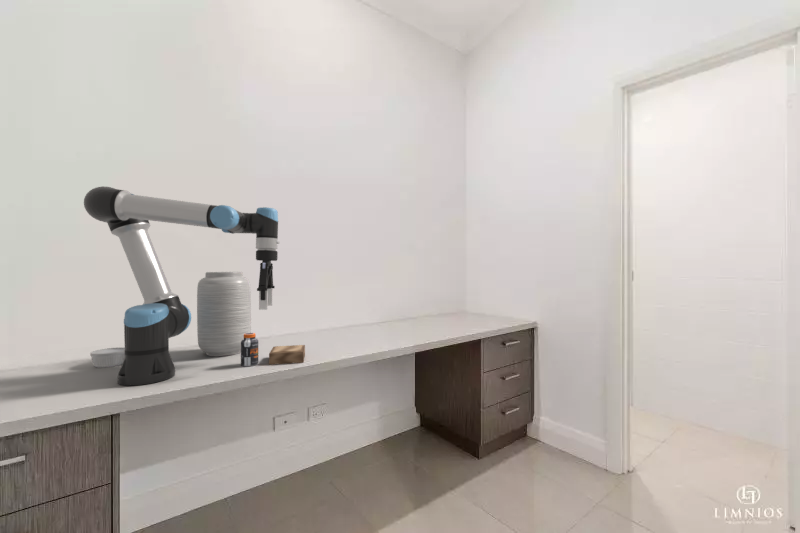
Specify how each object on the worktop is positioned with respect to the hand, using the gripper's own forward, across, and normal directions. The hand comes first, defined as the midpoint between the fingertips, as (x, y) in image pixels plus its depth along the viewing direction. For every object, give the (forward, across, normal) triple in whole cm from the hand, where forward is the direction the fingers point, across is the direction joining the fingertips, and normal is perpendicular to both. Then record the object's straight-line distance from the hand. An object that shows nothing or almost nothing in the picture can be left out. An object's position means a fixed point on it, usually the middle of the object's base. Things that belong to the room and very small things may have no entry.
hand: (265, 307), depth 135 cm
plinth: (+20, +3, -8) cm, 22 cm away
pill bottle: (+21, -1, +5) cm, 21 cm away
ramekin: (+22, +12, +56) cm, 62 cm away
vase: (+21, +22, +19) cm, 36 cm away
